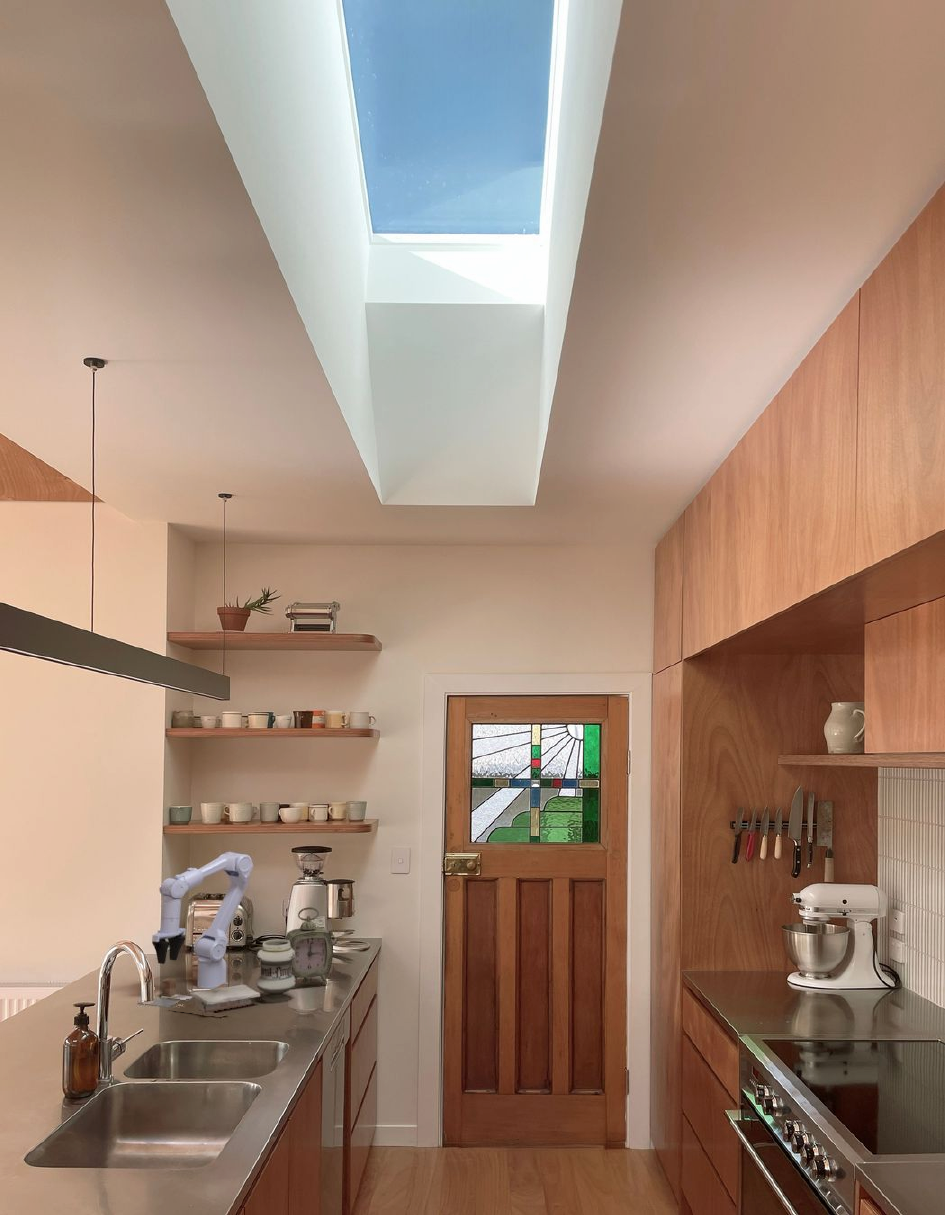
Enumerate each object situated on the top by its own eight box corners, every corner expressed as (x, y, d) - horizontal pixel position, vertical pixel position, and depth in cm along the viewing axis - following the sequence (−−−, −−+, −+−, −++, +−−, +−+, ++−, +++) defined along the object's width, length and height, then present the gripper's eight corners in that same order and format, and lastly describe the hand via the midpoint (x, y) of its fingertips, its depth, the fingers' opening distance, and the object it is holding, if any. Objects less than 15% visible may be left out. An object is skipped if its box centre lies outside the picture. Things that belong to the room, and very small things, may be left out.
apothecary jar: (248, 1000, 332) (249, 941, 334) (279, 993, 341) (280, 935, 343) (271, 1009, 324) (273, 948, 326) (303, 1000, 333) (304, 941, 334)
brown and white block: (160, 998, 335) (161, 980, 335) (168, 995, 338) (169, 977, 339) (184, 1001, 331) (185, 983, 332) (192, 998, 335) (193, 980, 336)
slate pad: (149, 999, 333) (149, 997, 333) (179, 1003, 329) (179, 1001, 329) (137, 1004, 328) (137, 1002, 328) (167, 1008, 324) (167, 1006, 324)
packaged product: (190, 1007, 322) (205, 1017, 314) (191, 991, 322) (207, 1000, 315) (243, 999, 334) (259, 1008, 326) (244, 983, 334) (260, 992, 326)
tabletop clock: (288, 990, 344) (290, 911, 346) (281, 983, 352) (283, 906, 354) (331, 985, 350) (333, 908, 352) (324, 979, 358) (325, 903, 360)
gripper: (174, 913, 348) (170, 956, 346) (145, 919, 335) (142, 964, 333) (192, 915, 345) (189, 958, 344) (164, 921, 332) (160, 967, 330)
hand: (167, 961), depth 338 cm, fingers open, 5 cm apart
